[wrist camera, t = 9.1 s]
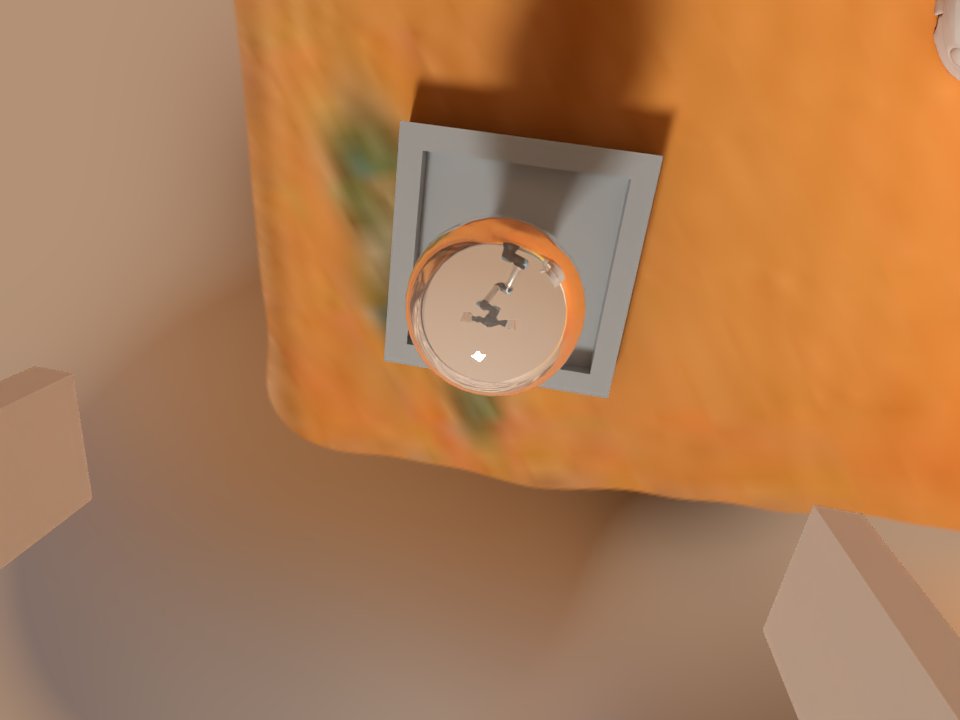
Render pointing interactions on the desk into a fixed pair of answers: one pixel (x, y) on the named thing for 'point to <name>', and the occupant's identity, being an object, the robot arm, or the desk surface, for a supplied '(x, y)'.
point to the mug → (948, 35)
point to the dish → (534, 197)
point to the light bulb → (495, 305)
